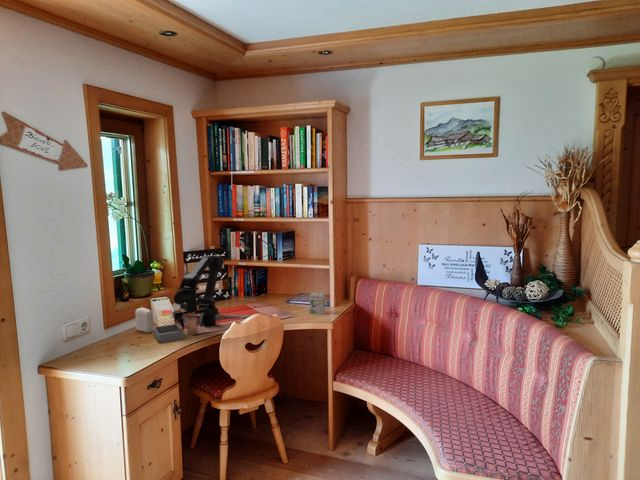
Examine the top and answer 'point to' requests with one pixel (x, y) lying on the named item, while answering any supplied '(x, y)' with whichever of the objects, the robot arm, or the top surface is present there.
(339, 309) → the top surface
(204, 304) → the robot arm
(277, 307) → the top surface
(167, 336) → the bin
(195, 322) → the terracotta cylinder
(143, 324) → the photo printer
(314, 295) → the ink box
